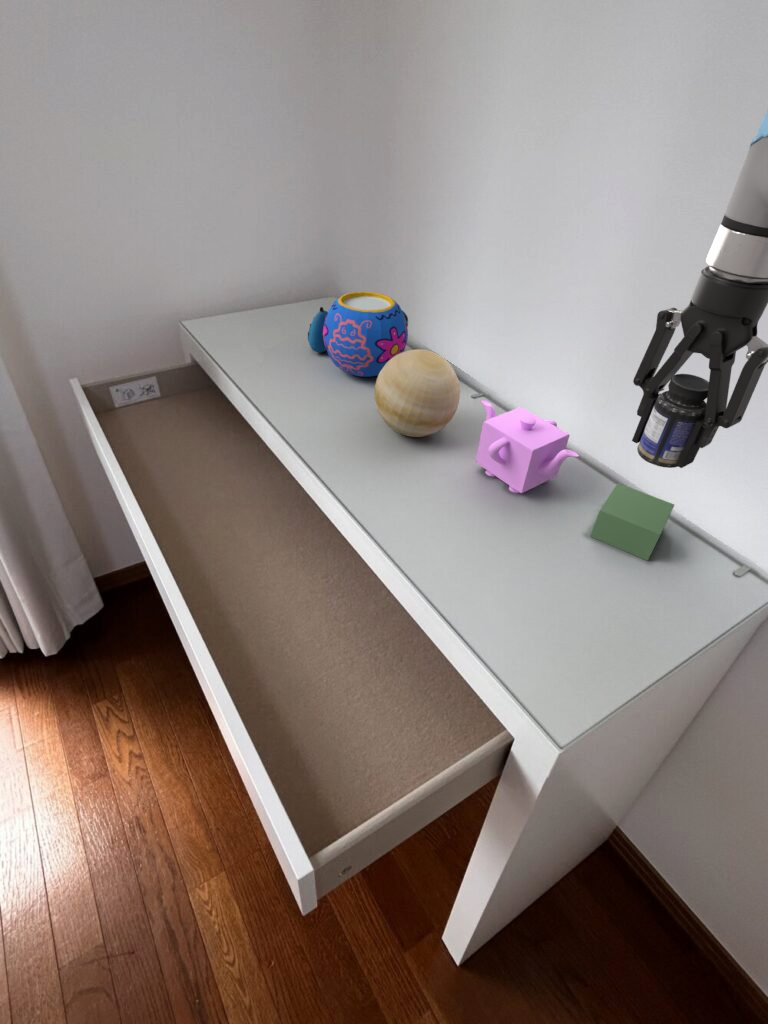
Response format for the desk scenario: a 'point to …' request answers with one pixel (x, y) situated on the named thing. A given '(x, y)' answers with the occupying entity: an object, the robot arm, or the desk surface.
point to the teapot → (521, 448)
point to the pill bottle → (673, 420)
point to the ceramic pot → (364, 332)
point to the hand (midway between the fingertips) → (661, 451)
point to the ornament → (317, 332)
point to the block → (631, 521)
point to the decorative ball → (417, 393)
